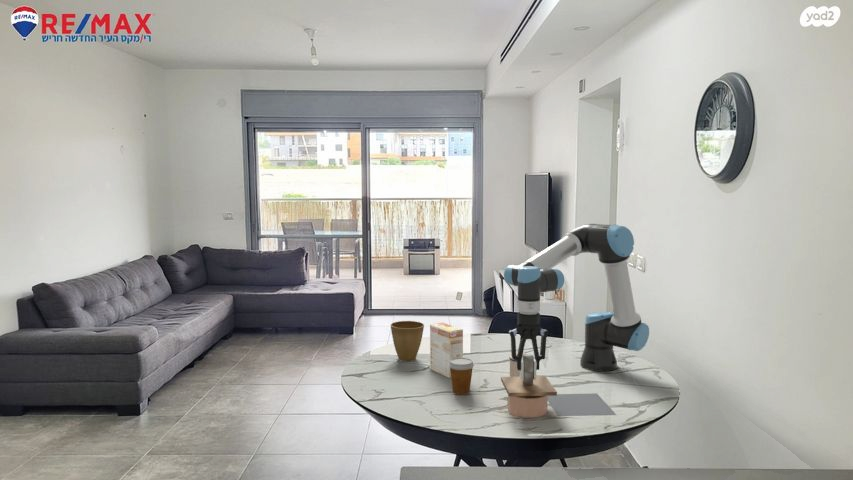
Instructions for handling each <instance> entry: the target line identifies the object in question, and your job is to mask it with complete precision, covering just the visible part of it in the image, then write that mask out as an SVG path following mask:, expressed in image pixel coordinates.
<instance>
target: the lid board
mask: <svg viewBox="0 0 853 480" xmlns="http://www.w3.org/2000/svg"><path fill="white" fill-rule="evenodd" d="M534 359H535V356H534V354H527V353H526V354H525V355H523V362H524V380H521V379H520V377H510V376H501V377H500V382H502V385H503V387H504V390H505V391H506V393H507V396H508V395H509V396H557V394H558V392H557V390H556V388H554V385H553V384H552V383H551V382H550V380H549V379H548V377H547V376H545V375H536V380H534V379H533V365H534Z"/></svg>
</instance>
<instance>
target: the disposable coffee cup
mask: <svg viewBox="0 0 853 480" xmlns="http://www.w3.org/2000/svg"><path fill="white" fill-rule="evenodd" d="M474 366H475V364H474V361H473V359H471V358H469V357H463V358H453V359H451V360H450V363H449V367H450V372H451V378H450V379H451V385H452V386H451V388H452V392H453V394H455V395H467V394H470V392H471V391H470V390H471V384H472V376H473V369H474Z"/></svg>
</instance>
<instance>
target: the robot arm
mask: <svg viewBox="0 0 853 480" xmlns="http://www.w3.org/2000/svg"><path fill="white" fill-rule="evenodd" d="M634 246H635V238H634V235H633V233H632V232H631V230H630V229H629V228H628V227H626V226H624V225H618V224H601V223H599V224H598V223H587V224H584V225H580V226H579V227H575V228H573V229H571V230H570V231H568V232H566V233H564V234H563V235H562V236H561V238H560V239H559V240H558V241H556V242H555V243H553V244H551V245H550V246H548V247H547V248H544V249H543V250H541V251H540V252H538V253H537V254H535V255H534V256H532V257H530V258H528V259H527V260H525V261H523V262H522V263H520V264H509V265H507V266H506V267H505V269H504V272H503V277H504V278H503V279H504V282H505V283H506V284H508V285H511V286H514V287H517V311H518V312H517V321H516V322H517V323H516V324H517V325H516V326H515V328H514V329H509V330H508V334H509V336H510V349H511V350H510V353H511V354H510V355H512V358H513V359H514V360H517V369H518V370H520V379H521V380H524V362H523V360H522V355H523V352H524V349H525V345H526V342H527V340H531V345H532V349H533V356H534V365H533V379H534V380H536V376H537V371H539V370H540V362H541V361H542V360H545V359H546V349H547V338H548V335H549V331H548V330H547V329H546V328H545V329H543V328H542V327H541V315H540V314H541V313H540V311H541V294H542V293H547V292H555V291H557V290H561V288H563V287H564V285H565V275H564V274H563V272H562V271H561V270H560V269H558V268H555V267H556V266H558V265H560V264H561V263H562V262H564V261H565V260H567V259H569V258H571V256H572V257H576V256H578V255H580V254H583V253H589V254H590V253H591V254H597V256H598V261H599V262H600V263H601V264H602V265H603V267H604V272H605V276H606V283H607V287H608V292H609V298H610V303H611V308H612V312H610V311H598V312H597V311H596V312H590V313H588V314H586V317H585V322H584V329H585V331H584V349H583V352H582V354H581V357H580V366H581V367H582V368H584V369H587V370H590V371H597V372H611V371H615V370H616V369H617V368H618V361H617V357H616V355H615V350H614V347H616V348H621V349H624V350H625V349H626V350H628V351H635V352H639V351H641V350H643V349H644V347H646V344H647V342H648V340H649V336H650V327H649V325H647V323H645V322H642V317H641V315H640V314H639V313H638V312H636V307H635V302H634V296H633V288H632V285H631V284H632V283H631V278H630V272H629V268H628V262H627V261H628V260H629V259H630V257H631V256H630V255H632V253H633V251H634ZM517 333H518V335H519V336H520V338H519V340H520V341H519V346H518V349H517V343H516V339H517V338H516V336H517ZM539 334H540V335H541V336H540V349H539V348H538V342H537V341H538V340H537V336H538V335H539ZM517 352H518V354H517V356H516V353H517Z"/></svg>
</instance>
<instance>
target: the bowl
mask: <svg viewBox="0 0 853 480" xmlns="http://www.w3.org/2000/svg"><path fill="white" fill-rule="evenodd" d="M548 403H549V402H548V396H509V395H508V394H507V411H508V413H509V414H510V415H512V417H516V418H520V417H523V418H538V417H542V416H545V415H546V413H548Z"/></svg>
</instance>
